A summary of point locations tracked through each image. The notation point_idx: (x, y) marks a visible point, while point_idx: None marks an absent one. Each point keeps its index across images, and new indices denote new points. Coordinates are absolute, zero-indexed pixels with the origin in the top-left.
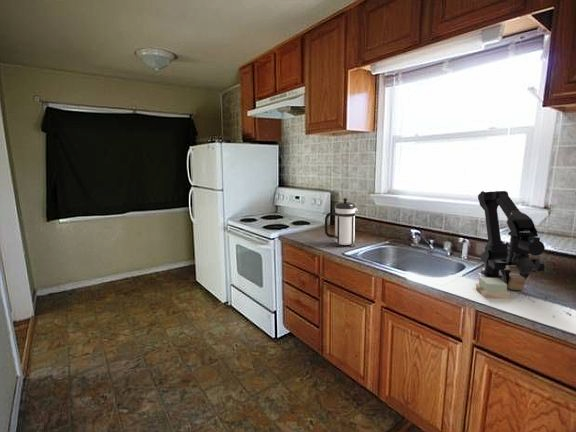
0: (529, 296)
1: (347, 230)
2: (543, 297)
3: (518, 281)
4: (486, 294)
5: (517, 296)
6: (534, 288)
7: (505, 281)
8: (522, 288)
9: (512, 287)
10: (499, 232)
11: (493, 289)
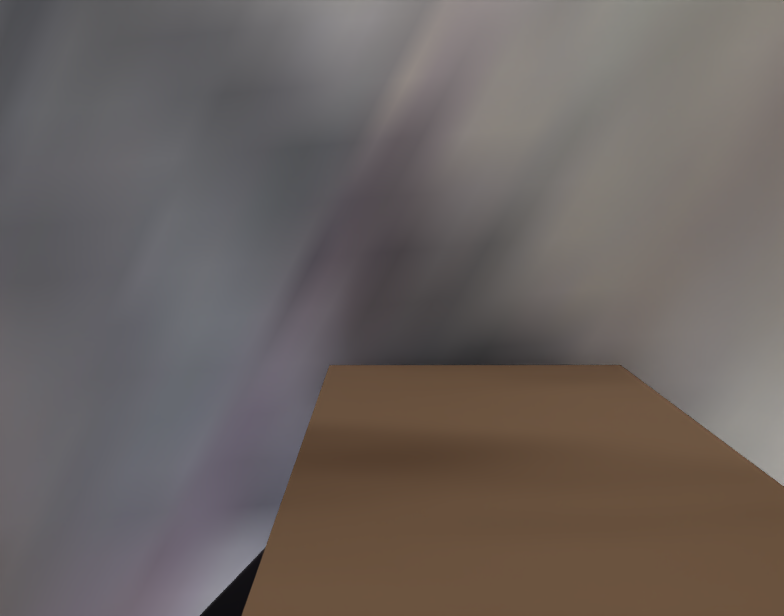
0: (358, 71)
1: None
2: (63, 34)
3: (526, 490)
4: None
5: (640, 45)
6: (44, 513)
7: None
8: (361, 375)
9: (601, 386)
10: None
11: None
